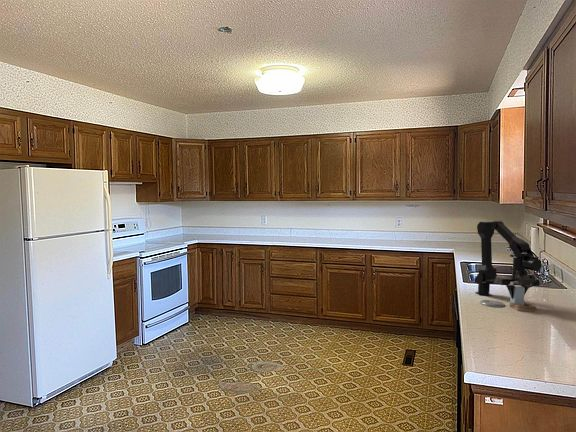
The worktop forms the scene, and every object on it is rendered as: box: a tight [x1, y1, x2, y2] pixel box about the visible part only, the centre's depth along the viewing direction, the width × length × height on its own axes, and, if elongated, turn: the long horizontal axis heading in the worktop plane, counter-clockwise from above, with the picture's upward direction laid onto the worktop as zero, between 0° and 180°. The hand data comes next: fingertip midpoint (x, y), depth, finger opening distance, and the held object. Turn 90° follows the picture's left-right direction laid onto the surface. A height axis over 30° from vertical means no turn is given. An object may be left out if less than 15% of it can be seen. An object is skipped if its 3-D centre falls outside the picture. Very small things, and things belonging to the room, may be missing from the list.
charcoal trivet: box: [479, 299, 505, 308], centre depth 223 cm, size 11×11×1 cm
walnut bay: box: [509, 301, 537, 312], centre depth 216 cm, size 8×8×2 cm
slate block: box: [509, 284, 526, 306], centre depth 221 cm, size 4×4×9 cm
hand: (517, 298), depth 221 cm, fingers closed on slate block, 4 cm apart
